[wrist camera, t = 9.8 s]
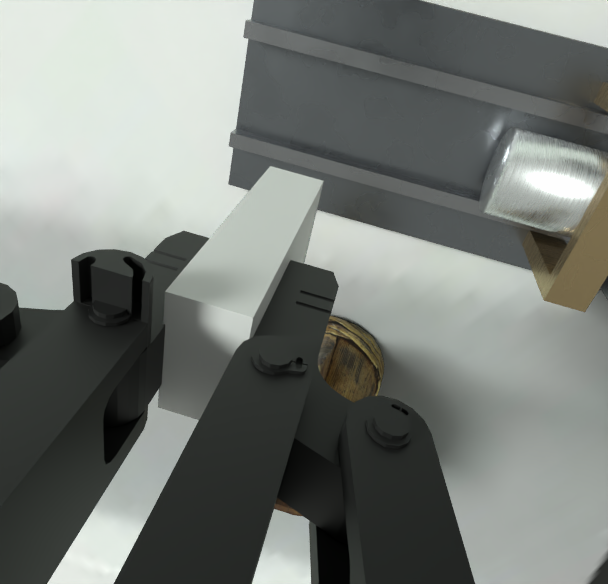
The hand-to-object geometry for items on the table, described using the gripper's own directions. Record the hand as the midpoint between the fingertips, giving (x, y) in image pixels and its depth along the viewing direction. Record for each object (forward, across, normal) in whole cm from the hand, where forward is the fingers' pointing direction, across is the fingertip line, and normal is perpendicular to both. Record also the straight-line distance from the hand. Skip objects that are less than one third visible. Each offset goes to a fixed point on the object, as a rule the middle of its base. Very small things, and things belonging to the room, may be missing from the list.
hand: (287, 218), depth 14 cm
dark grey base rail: (+17, +9, -1) cm, 19 cm away
